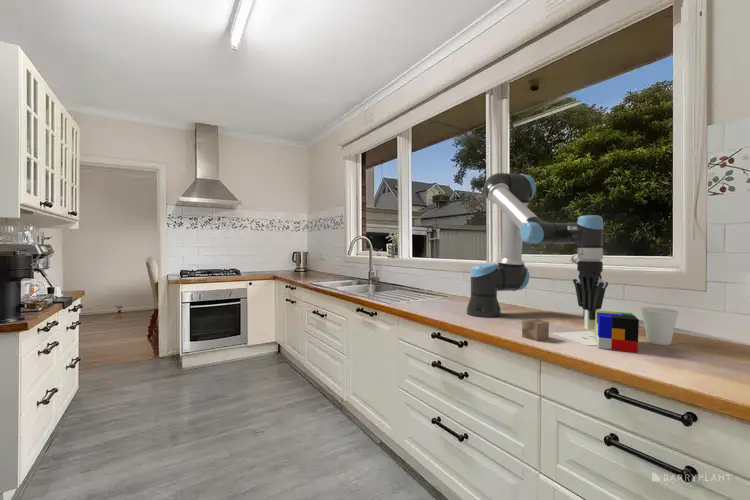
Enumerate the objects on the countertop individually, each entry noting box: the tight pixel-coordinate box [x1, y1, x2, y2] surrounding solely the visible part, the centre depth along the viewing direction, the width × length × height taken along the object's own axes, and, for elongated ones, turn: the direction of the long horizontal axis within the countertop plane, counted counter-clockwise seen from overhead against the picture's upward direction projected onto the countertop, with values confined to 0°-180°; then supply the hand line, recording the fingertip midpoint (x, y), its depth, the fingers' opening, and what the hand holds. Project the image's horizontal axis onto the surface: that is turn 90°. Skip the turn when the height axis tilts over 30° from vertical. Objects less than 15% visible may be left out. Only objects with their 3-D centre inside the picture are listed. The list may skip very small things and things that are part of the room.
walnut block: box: [521, 318, 550, 342], centre depth 124 cm, size 6×6×6 cm
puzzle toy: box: [594, 309, 640, 354], centre depth 114 cm, size 10×10×10 cm
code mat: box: [551, 330, 598, 347], centre depth 124 cm, size 16×16×1 cm
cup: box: [640, 306, 680, 346], centre depth 118 cm, size 10×10×11 cm
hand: (589, 328), depth 124 cm, fingers closed
